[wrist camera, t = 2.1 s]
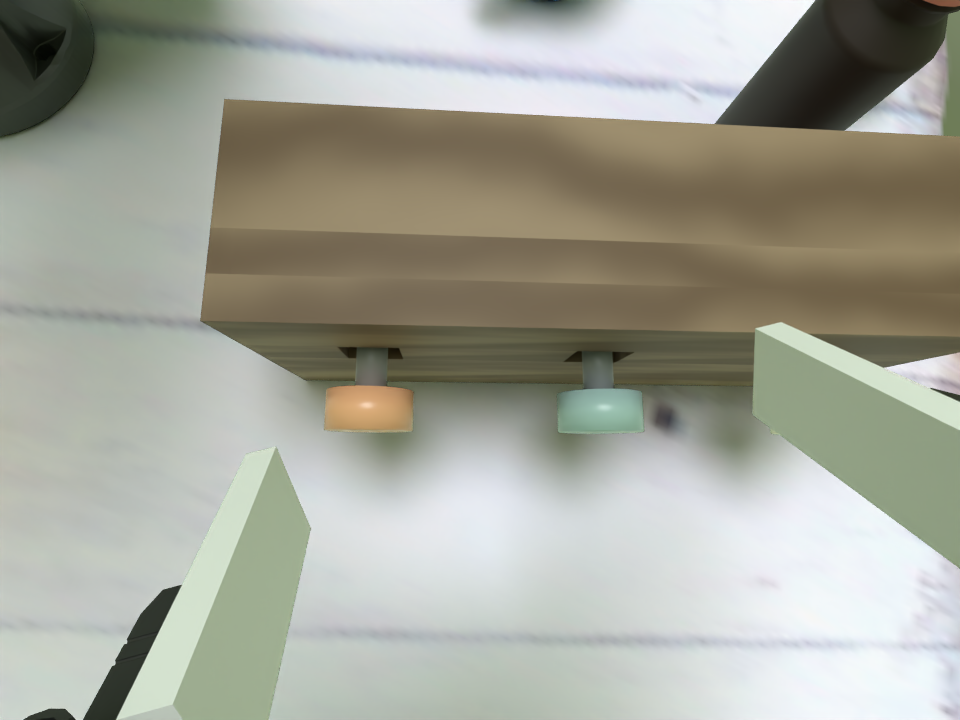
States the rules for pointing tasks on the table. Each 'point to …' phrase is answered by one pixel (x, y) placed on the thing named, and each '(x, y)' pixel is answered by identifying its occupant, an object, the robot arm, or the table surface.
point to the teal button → (599, 401)
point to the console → (573, 243)
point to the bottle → (841, 63)
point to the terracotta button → (369, 399)
